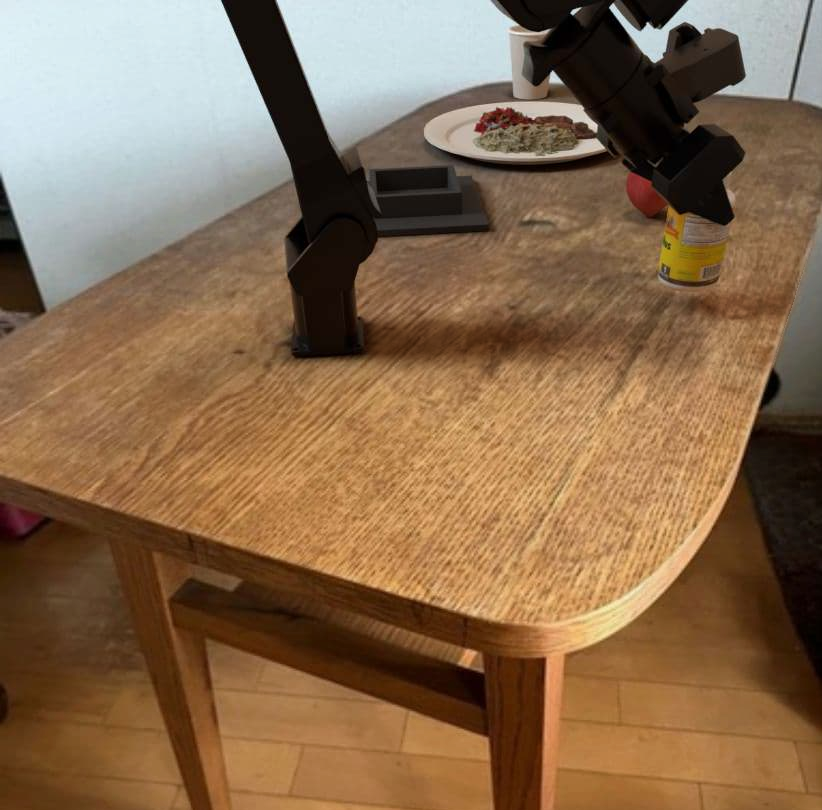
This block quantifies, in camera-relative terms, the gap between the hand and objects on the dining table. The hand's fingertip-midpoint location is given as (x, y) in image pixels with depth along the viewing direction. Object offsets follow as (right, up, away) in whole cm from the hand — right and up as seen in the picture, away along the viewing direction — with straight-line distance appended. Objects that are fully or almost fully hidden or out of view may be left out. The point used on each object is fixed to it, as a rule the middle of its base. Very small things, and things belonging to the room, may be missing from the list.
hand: (715, 210), depth 76 cm
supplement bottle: (-1, -5, +4) cm, 7 cm away
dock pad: (-27, +11, +29) cm, 41 cm away
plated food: (-10, +29, +49) cm, 58 cm away
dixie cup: (-7, +47, +70) cm, 84 cm away
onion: (+1, +8, +24) cm, 26 cm away
